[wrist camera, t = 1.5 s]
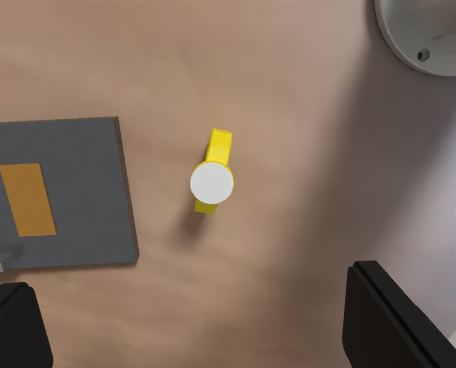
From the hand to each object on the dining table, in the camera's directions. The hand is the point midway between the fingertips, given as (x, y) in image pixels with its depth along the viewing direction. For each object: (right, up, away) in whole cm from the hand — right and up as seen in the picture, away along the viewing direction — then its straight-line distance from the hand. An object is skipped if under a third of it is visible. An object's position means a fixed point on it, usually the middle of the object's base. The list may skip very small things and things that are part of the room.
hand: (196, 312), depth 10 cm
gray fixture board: (-17, +3, +17) cm, 24 cm away
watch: (0, +6, +16) cm, 17 cm away
